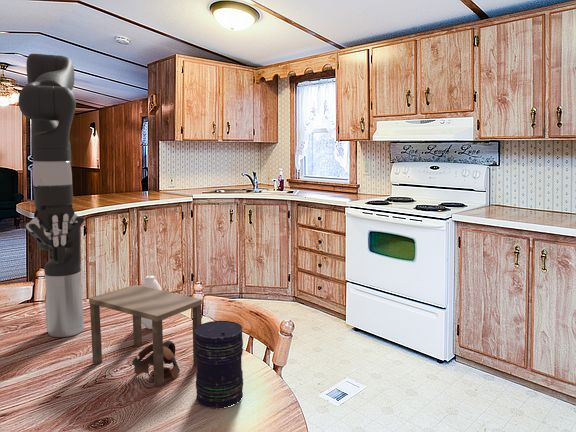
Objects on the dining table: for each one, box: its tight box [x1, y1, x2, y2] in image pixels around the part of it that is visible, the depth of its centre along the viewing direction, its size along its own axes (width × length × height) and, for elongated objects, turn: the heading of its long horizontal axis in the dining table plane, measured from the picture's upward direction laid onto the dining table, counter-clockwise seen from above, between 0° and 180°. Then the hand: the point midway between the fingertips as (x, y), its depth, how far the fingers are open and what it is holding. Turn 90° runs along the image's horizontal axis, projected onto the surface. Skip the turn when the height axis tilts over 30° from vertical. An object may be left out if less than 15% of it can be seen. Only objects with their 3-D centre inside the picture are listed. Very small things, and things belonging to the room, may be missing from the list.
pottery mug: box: [131, 340, 181, 380], centre depth 114 cm, size 12×10×8 cm
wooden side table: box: [88, 284, 203, 388], centre depth 117 cm, size 23×14×16 cm, turn 58°
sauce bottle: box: [140, 267, 163, 330], centre depth 140 cm, size 8×8×18 cm
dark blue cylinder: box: [195, 320, 244, 410], centre depth 102 cm, size 10×10×15 cm
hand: (57, 262), depth 106 cm, fingers closed
